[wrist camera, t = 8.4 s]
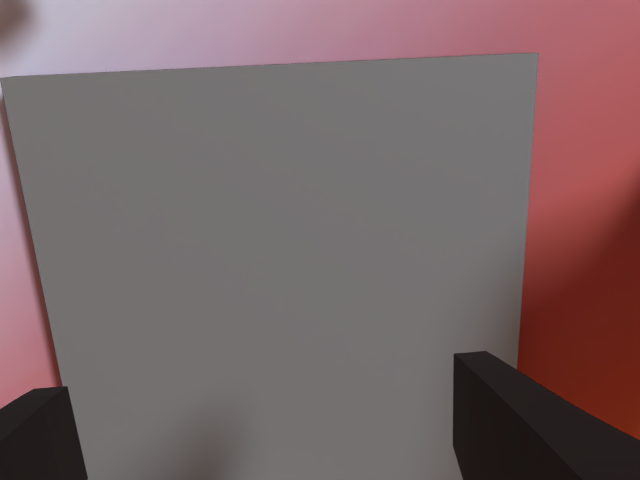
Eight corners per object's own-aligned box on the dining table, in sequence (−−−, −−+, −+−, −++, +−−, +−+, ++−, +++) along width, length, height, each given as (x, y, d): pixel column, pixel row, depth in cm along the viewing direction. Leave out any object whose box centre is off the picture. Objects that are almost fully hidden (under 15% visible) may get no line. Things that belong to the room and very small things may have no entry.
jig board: (525, 52, 19) (538, 52, 18) (491, 599, 26) (499, 620, 25) (14, 76, 18) (-1, 77, 17) (123, 633, 25) (117, 656, 24)
